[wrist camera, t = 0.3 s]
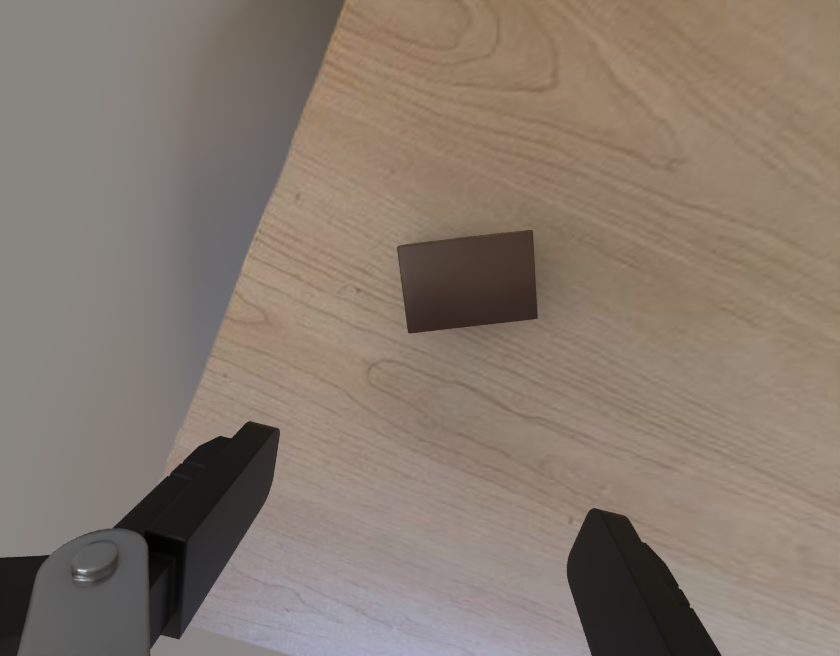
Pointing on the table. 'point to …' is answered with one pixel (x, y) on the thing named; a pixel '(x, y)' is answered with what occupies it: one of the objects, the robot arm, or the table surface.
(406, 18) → the table surface
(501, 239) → the walnut block
